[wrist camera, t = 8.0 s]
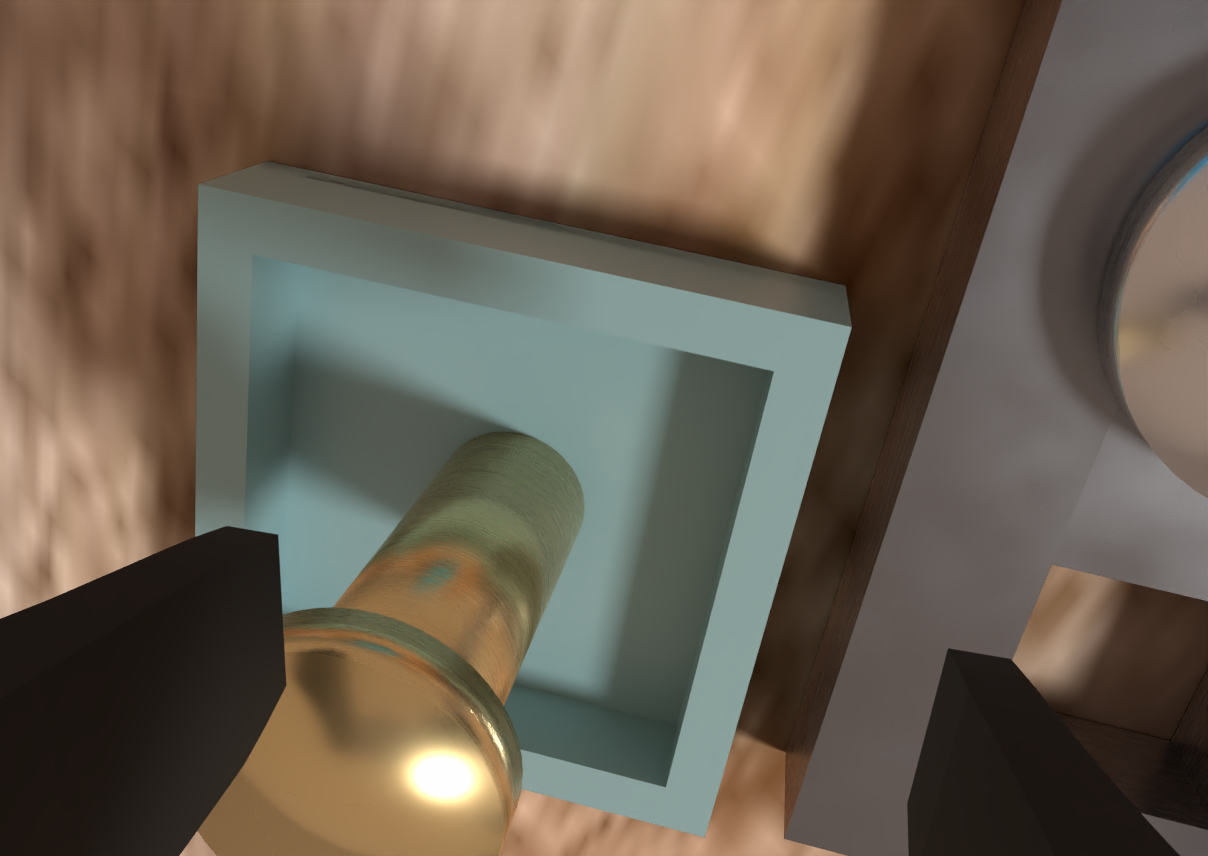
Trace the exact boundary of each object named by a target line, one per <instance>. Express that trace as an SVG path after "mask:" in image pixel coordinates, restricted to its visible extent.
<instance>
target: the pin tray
mask: <svg viewBox="0 0 1208 856" xmlns="http://www.w3.org/2000/svg"><path fill="white" fill-rule="evenodd" d="M851 328H852V325H851V319H850V312H849V305H848V299H847V292H846V286H845V285H841V284H836V283H831V282H827V281H822V280H817V279H813V278H808V277H804V276H799V275H794V274H790V273H785V272H780V271H776V270H771V269H766V268H762V267H757V266H752V265H748V264H743V263H739V262H734V261H729V260H725V259H720V258H715V257H711V256H706V255H701V254H697V253H692V252H688V251H683V250H678V249H674V248H669V247H664V246H660V245H655V244H650V243H646V242H641V241H636V240H632V239H627V238H623V237H618V236H613V235H609V234H604V233H599V232H595V231H590V230H585V229H581V228H576V227H572V226H567V225H562V224H558V223H553V222H548V221H544V220H539V219H534V218H530V217H525V216H520V215H516V214H511V213H507V212H502V211H497V210H493V209H488V208H483V207H479V206H474V205H469V204H465V203H460V202H456V201H451V200H446V199H442V198H437V197H432V196H428V195H423V194H418V193H414V192H409V191H404V190H400V189H395V188H391V187H386V186H381V185H377V184H372V183H367V182H363V181H358V180H353V179H349V178H344V177H340V176H335V175H330V174H326V173H321V172H316V171H312V170H307V169H302V168H298V167H293V166H288V165H284V164H279V163H275V162H270V161H267V162H264V163H261V164H257V165H254V166H251V167H248V168H245V169H242V170H239V171H236V172H233V173H230V174H227V175H224V176H221V177H218V178H215V179H212V180H209V181H206V182H203V183H200V184H198V260H197V378H196V497H195V537H196V536H199V535H202V534H204V533H207V532H210V531H213V530H216V529H219V528H222V527H225V526H231V527H237V528H243V529H248V530H254V531H260V532H266V533H272V534H278V539H279V557H280V576H281V594H282V613H283V615H285V614H288V613H291V612H294V611H300V610H306V609H312V608H329V607H333V606H334V605H335V604H336V603H337V601H338V600H339V599H340V598H341V596H342V595H343V594H344V592H345V591H346V590H347V589H348V587H349V586H350V585H351V583H352V582H353V581H354V580H355V578H356V577H357V576H358V574H359V573H360V572H361V571H362V569H363V568H364V567H365V566H366V564H367V563H368V562H369V560H370V559H371V558H372V557H373V555H374V554H375V553H376V551H377V550H378V549H379V548H380V546H381V545H382V544H383V542H384V541H385V540H386V539H387V537H388V536H389V535H390V533H391V532H392V531H393V530H394V528H395V527H396V526H397V525H398V523H399V522H400V521H401V519H402V518H403V517H404V516H405V514H406V513H407V512H408V510H409V509H410V508H411V507H412V505H413V504H414V503H415V501H416V500H417V499H418V498H419V496H420V495H421V494H422V492H423V491H424V490H425V489H426V487H427V486H428V485H429V484H430V482H431V481H432V480H433V478H434V477H435V476H436V475H437V473H438V472H439V471H440V469H441V468H442V467H443V466H444V464H445V463H446V462H447V460H448V459H449V458H450V457H451V455H452V454H453V453H454V452H455V451H456V450H457V449H458V448H459V447H460V446H461V445H463V444H464V443H465V442H467V441H469V440H471V439H472V438H474V437H477V436H480V435H483V434H487V433H492V432H514V433H520V434H524V435H527V436H531V437H533V438H535V439H538V440H540V441H542V442H544V443H545V444H547V445H549V446H550V447H551V448H553V449H554V450H555V451H557V452H558V453H559V454H560V455H561V456H562V457H563V458H564V459H565V460H566V461H567V462H568V464H569V465H570V466H571V468H572V469H573V471H574V472H575V474H576V476H577V478H578V480H579V482H580V485H581V488H582V491H583V496H584V506H585V511H584V519H583V523H582V526H581V529H580V531H579V533H578V536H577V538H576V540H575V543H574V545H573V547H572V550H571V552H570V554H569V556H568V559H567V561H566V563H565V566H564V568H563V570H562V573H561V575H560V577H559V580H558V582H557V584H556V586H555V589H554V591H553V593H552V596H551V598H550V600H549V603H548V605H547V607H546V610H545V612H544V614H543V616H542V619H541V621H540V623H539V626H538V628H537V630H536V633H535V635H534V637H533V640H532V642H531V644H530V646H529V649H528V651H527V653H526V656H525V658H524V660H523V663H522V665H521V667H520V670H519V672H518V674H517V676H516V679H515V681H514V683H513V686H512V688H511V690H510V693H509V695H508V697H507V700H506V702H505V704H504V708H505V710H506V712H507V713H508V715H509V717H510V719H511V721H512V724H513V727H514V729H515V732H516V735H517V737H518V741H519V746H520V750H521V755H522V766H523V779H522V789H524V790H528V791H532V792H535V793H539V794H543V795H547V796H551V797H554V798H558V799H562V800H566V801H569V802H573V803H577V804H581V805H584V806H588V807H592V808H596V809H599V810H603V811H607V812H611V813H614V814H618V815H622V816H626V817H629V818H633V819H637V820H641V821H645V822H648V823H652V824H656V825H660V826H663V827H667V828H671V829H675V830H678V831H682V832H686V833H690V834H693V835H697V836H701V837H705V835H706V831H707V828H708V824H709V821H710V817H711V814H712V810H713V807H714V803H715V800H716V796H717V793H718V790H719V786H720V783H721V779H722V776H723V772H724V769H725V765H726V762H727V758H728V755H729V751H730V748H731V744H732V741H733V737H734V734H735V731H736V727H737V724H738V720H739V717H740V713H741V710H742V706H743V703H744V699H745V696H746V692H747V689H748V685H749V682H750V679H751V675H752V672H753V668H754V665H755V661H756V658H757V654H758V651H759V647H760V644H761V640H762V637H763V633H764V630H765V626H766V623H767V620H768V616H769V613H770V609H771V606H772V602H773V599H774V595H775V592H776V588H777V585H778V581H779V578H780V574H781V571H782V568H783V564H784V561H785V557H786V554H787V550H788V547H789V543H790V540H791V536H792V533H793V529H794V526H795V522H796V519H797V515H798V512H799V509H800V505H801V502H802V498H803V495H804V491H805V488H806V484H807V481H808V477H809V474H810V470H811V467H812V463H813V460H814V457H815V453H816V450H817V446H818V443H819V439H820V436H821V432H822V429H823V425H824V422H825V418H826V415H827V411H828V408H829V405H830V401H831V398H832V394H833V391H834V387H835V384H836V380H837V377H838V373H839V370H840V366H841V363H842V359H843V356H844V352H845V349H846V346H847V342H848V339H849V335H850V332H851Z"/></svg>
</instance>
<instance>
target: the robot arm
mask: <svg viewBox="0 0 1208 856" xmlns="http://www.w3.org/2000/svg"><path fill="white" fill-rule="evenodd" d="M285 687H286V668H285V650H284V631H283V613H282V594H281V576H280V557H279V539H278V534H272V533H266V532H260V531H254V530H248V529H243V528H237V527H231V526H225V527H222V528H219V529H216V530H213V531H210V532H207V533H204V534H202V535H199V536H196V537H194V538H192V539H189V540H187V541H184V542H182V543H179V544H177V545H174V546H172V547H170V548H167V549H165V550H163V551H160V552H158V553H156V554H153V555H151V556H149V557H146V558H144V559H142V560H139V561H137V562H135V563H133V564H130V565H128V566H126V567H123V568H121V569H119V570H117V571H114V572H112V573H110V574H107V575H105V576H103V577H100V578H98V579H96V580H93V581H91V582H89V583H86V584H84V585H82V586H79V587H77V588H75V589H73V590H70V591H68V592H66V593H63V594H61V595H59V596H56V597H54V598H52V599H49V600H47V601H45V602H42V603H39V604H37V605H34V606H32V607H29V608H27V609H24V610H22V611H19V612H17V613H14V614H12V615H9V616H6V617H4V618H1V619H0V856H179V855H180V854H181V852H182V851H183V850H184V848H185V847H186V846H187V844H188V843H189V841H190V840H191V839H192V837H193V836H194V835H195V833H196V832H197V830H198V829H199V828H200V826H201V825H202V824H203V822H204V821H205V819H206V818H207V817H208V815H209V814H210V812H211V811H212V810H213V808H214V807H215V805H216V804H217V803H218V801H219V800H220V798H221V797H222V796H223V794H224V793H225V791H226V790H227V789H228V787H229V786H230V784H231V783H232V781H233V780H234V779H235V777H236V776H237V774H238V773H239V771H240V770H241V769H242V767H243V766H244V764H245V763H246V761H247V759H248V757H249V755H250V754H251V752H252V750H253V748H254V746H255V745H256V743H257V741H258V739H259V737H260V736H261V734H262V732H263V730H264V728H265V726H266V725H267V723H268V721H269V719H270V717H271V715H272V713H273V711H274V709H275V707H276V705H277V703H278V701H279V699H280V697H281V695H282V693H283V691H284V689H285ZM907 815H908V853H909V856H1180V855H1179V854H1178V853H1177V852H1176V851H1175V849H1174V848H1173V847H1172V846H1171V845H1170V844H1169V843H1168V842H1167V841H1166V840H1165V839H1164V838H1163V837H1162V836H1161V835H1160V833H1159V832H1158V831H1157V830H1156V829H1155V828H1154V827H1153V826H1152V825H1151V824H1150V823H1149V822H1148V820H1147V819H1146V818H1145V817H1144V816H1143V815H1142V814H1141V813H1140V812H1139V811H1138V809H1137V808H1136V807H1135V806H1134V805H1133V804H1132V803H1131V802H1130V800H1129V799H1128V798H1127V797H1126V796H1125V795H1124V794H1123V792H1122V791H1121V790H1120V789H1119V788H1118V787H1117V786H1116V784H1115V783H1114V782H1113V781H1112V780H1111V779H1110V777H1109V776H1108V775H1107V774H1106V773H1105V772H1104V771H1103V769H1102V768H1101V767H1100V766H1099V765H1098V763H1097V762H1096V761H1095V760H1094V759H1093V758H1092V756H1091V755H1090V754H1089V753H1088V752H1087V750H1086V749H1085V748H1084V747H1083V746H1082V744H1081V743H1080V742H1079V741H1078V740H1077V738H1076V737H1075V736H1074V735H1073V734H1072V732H1071V731H1070V730H1069V729H1068V727H1067V726H1066V725H1065V724H1064V723H1063V721H1062V720H1061V719H1060V718H1059V717H1058V715H1057V714H1056V713H1055V712H1054V710H1053V709H1052V708H1051V707H1050V706H1049V704H1048V703H1047V702H1046V701H1045V699H1044V698H1043V697H1042V696H1041V694H1040V693H1039V692H1038V691H1037V690H1036V688H1035V687H1034V686H1033V685H1032V683H1031V682H1030V681H1029V680H1028V679H1027V677H1026V676H1025V675H1024V674H1023V673H1022V671H1021V670H1020V669H1019V668H1018V667H1017V666H1016V664H1015V663H1014V662H1013V661H1012V660H1011V659H1009V658H1003V657H997V656H991V655H985V654H979V653H974V652H968V651H962V650H956V649H950V648H948V650H947V654H946V658H945V662H944V665H943V669H942V673H941V677H940V681H939V684H938V688H937V692H936V696H935V700H934V703H933V707H932V711H931V715H930V719H929V722H928V726H927V730H926V734H925V738H924V741H923V745H922V749H921V753H920V757H919V760H918V764H917V768H916V772H915V776H914V779H913V783H912V787H911V791H910V795H909V798H908V802H907Z"/></svg>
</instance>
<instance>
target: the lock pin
mask: <svg viewBox="0 0 1208 856" xmlns="http://www.w3.org/2000/svg"><path fill="white" fill-rule="evenodd" d="M584 511H585V506H584V496H583V491H582V488H581V485H580V482H579V480H578V478H577V476H576V474H575V472H574V471H573V469H572V468H571V466H570V465H569V464H568V462H567V461H566V460H565V459H564V458H563V457H562V456H561V455H560V454H559V453H558V452H557V451H555V450H554V449H553V448H551V447H550V446H549V445H547V444H545V443H544V442H542V441H540V440H538V439H535V438H533V437H531V436H527V435H524V434H520V433H514V432H492V433H487V434H483V435H480V436H477V437H474V438H472V439H471V440H469V441H467V442H465V443H464V444H463V445H461V446H460V447H459V448H458V449H457V450H456V451H455V452H454V453H453V454H452V455H451V457H450V458H449V459H448V460H447V462H446V463H445V464H444V466H443V467H442V468H441V469H440V471H439V472H438V473H437V475H436V476H435V477H434V478H433V480H432V481H431V482H430V484H429V485H428V486H427V487H426V489H425V490H424V491H423V492H422V494H421V495H420V496H419V498H418V499H417V500H416V501H415V503H414V504H413V505H412V507H411V508H410V509H409V510H408V512H407V513H406V514H405V516H404V517H403V518H402V519H401V521H400V522H399V523H398V525H397V526H396V527H395V528H394V530H393V531H392V532H391V533H390V535H389V536H388V537H387V539H386V540H385V541H384V542H383V544H382V545H381V546H380V548H379V549H378V550H377V551H376V553H375V554H374V555H373V557H372V558H371V559H370V560H369V562H368V563H367V564H366V566H365V567H364V568H363V569H362V571H361V572H360V573H359V574H358V576H357V577H356V578H355V580H354V581H353V582H352V583H351V585H350V586H349V587H348V589H347V590H346V591H345V592H344V594H343V595H342V596H341V598H340V599H339V600H338V601H337V603H336V604H335V605H334V606H333V607H329V608H312V609H306V610H300V611H294V612H291V613H288V614H285V615H283V631H284V650H285V668H286V687H285V689H284V691H283V693H282V695H281V697H280V699H279V701H278V703H277V705H276V707H275V709H274V711H273V713H272V715H271V717H270V719H269V721H268V723H267V725H266V726H265V728H264V730H263V732H262V734H261V736H260V737H259V739H258V741H257V743H256V745H255V746H254V748H253V750H252V752H251V754H250V755H249V757H248V759H247V761H246V763H245V764H244V766H243V767H242V769H241V770H240V771H239V773H238V774H237V776H236V777H235V779H234V780H233V781H232V783H231V784H230V786H229V787H228V789H227V790H226V791H225V793H224V794H223V796H222V797H221V798H220V800H219V801H218V803H217V804H216V805H215V807H214V808H213V810H212V811H211V812H210V814H209V815H208V817H207V818H206V819H205V821H204V822H203V824H202V825H201V826H200V828H199V829H198V832H199V833H200V835H201V836H202V838H203V839H204V841H205V842H206V843H207V844H208V846H209V847H210V848H211V849H212V850H213V852H214V853H215V854H216V855H217V856H499V855H500V852H501V849H502V846H503V844H504V841H505V838H506V835H507V833H508V830H509V827H510V824H511V822H512V819H513V816H514V813H515V811H516V808H517V805H518V801H519V797H520V794H521V789H522V779H523V766H522V755H521V750H520V746H519V741H518V737H517V735H516V732H515V729H514V727H513V724H512V721H511V719H510V717H509V715H508V713H507V712H506V710H505V708H504V704H505V702H506V700H507V697H508V695H509V693H510V690H511V688H512V686H513V683H514V681H515V679H516V676H517V674H518V672H519V670H520V667H521V665H522V663H523V660H524V658H525V656H526V653H527V651H528V649H529V646H530V644H531V642H532V640H533V637H534V635H535V633H536V630H537V628H538V626H539V623H540V621H541V619H542V616H543V614H544V612H545V610H546V607H547V605H548V603H549V600H550V598H551V596H552V593H553V591H554V589H555V586H556V584H557V582H558V580H559V577H560V575H561V573H562V570H563V568H564V566H565V563H566V561H567V559H568V556H569V554H570V552H571V550H572V547H573V545H574V543H575V540H576V538H577V536H578V533H579V531H580V529H581V526H582V523H583V519H584Z"/></svg>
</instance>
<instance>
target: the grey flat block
mask: <svg viewBox="0 0 1208 856" xmlns="http://www.w3.org/2000/svg"><path fill="white" fill-rule="evenodd" d="M1051 565H1056V566H1061V567H1065V568H1069V569H1073V570H1078V571H1082V572H1086V573H1090V574H1095V575H1099V576H1103V577H1107V578H1112V579H1116V580H1120V581H1124V582H1129V583H1133V584H1137V585H1141V586H1146V587H1150V588H1154V589H1158V590H1163V591H1167V592H1171V593H1175V594H1180V595H1184V596H1188V597H1192V598H1197V599H1201V600H1205V601H1208V0H1025V3H1024V6H1023V10H1022V13H1021V16H1020V19H1019V22H1018V25H1017V28H1016V32H1015V35H1014V38H1013V41H1012V44H1011V47H1010V51H1009V54H1008V57H1007V60H1006V63H1005V66H1004V69H1003V73H1002V76H1001V79H1000V82H999V85H998V88H997V91H996V95H995V98H994V101H993V104H992V107H991V110H990V113H989V117H988V120H987V123H986V126H985V129H984V132H983V135H982V139H981V142H980V145H979V148H978V151H977V154H976V157H975V161H974V164H973V167H972V170H971V173H970V176H969V179H968V183H967V186H966V189H965V192H964V195H963V198H962V201H961V205H960V208H959V211H958V214H957V217H956V220H955V223H954V227H953V230H952V233H951V236H950V239H949V242H948V245H947V249H946V252H945V255H944V258H943V261H942V264H941V267H940V271H939V274H938V277H937V280H936V283H935V286H934V289H933V293H932V296H931V299H930V302H929V305H928V308H927V311H926V315H925V318H924V321H923V324H922V327H921V330H920V333H919V337H918V340H917V343H916V346H915V349H914V352H913V355H912V359H911V362H910V365H909V368H908V371H907V374H906V377H905V381H904V384H903V387H902V390H901V393H900V396H899V399H898V403H897V406H896V409H895V412H894V415H893V418H892V421H891V425H890V428H889V431H888V434H887V437H886V440H885V443H884V447H883V450H882V453H881V456H880V459H879V462H878V465H877V469H876V472H875V475H874V478H873V481H872V484H871V487H870V491H869V494H868V497H867V500H866V503H865V506H864V509H863V513H862V516H861V519H860V522H859V525H858V528H857V531H856V535H855V538H854V541H853V544H852V547H851V550H850V553H849V557H848V560H847V563H846V566H845V569H844V572H843V575H842V579H841V582H840V585H839V588H838V591H837V594H836V598H835V601H834V604H833V607H832V610H831V613H830V616H829V620H828V623H827V626H826V629H825V632H824V635H823V638H822V642H821V645H820V648H819V651H818V654H817V657H816V660H815V664H814V667H813V670H812V673H811V676H810V679H809V682H808V686H807V689H806V692H805V695H804V698H803V701H802V704H801V708H800V711H799V714H798V717H797V720H796V723H795V726H794V730H793V733H792V736H791V739H790V742H789V745H788V748H787V752H786V765H785V817H784V839H787V840H791V841H794V842H798V843H802V844H806V845H810V846H813V847H817V848H821V849H825V850H829V851H832V852H836V853H840V854H844V855H847V856H909V853H908V815H907V802H908V798H909V795H910V791H911V787H912V783H913V779H914V776H915V772H916V768H917V764H918V760H919V757H920V753H921V749H922V745H923V741H924V738H925V734H926V730H927V726H928V722H929V719H930V715H931V711H932V707H933V703H934V700H935V696H936V692H937V688H938V684H939V681H940V677H941V673H942V669H943V665H944V662H945V658H946V654H947V650H948V648H950V649H956V650H962V651H968V652H974V653H979V654H985V655H991V656H997V657H1003V658H1009V659H1011V660H1012V659H1013V656H1014V654H1015V652H1016V649H1017V647H1018V644H1019V642H1020V640H1021V637H1022V635H1023V632H1024V630H1025V628H1026V625H1027V623H1028V620H1029V618H1030V616H1031V613H1032V611H1033V608H1034V606H1035V604H1036V601H1037V599H1038V596H1039V594H1040V592H1041V589H1042V587H1043V584H1044V582H1045V580H1046V577H1047V575H1048V572H1049V570H1050V568H1051ZM1055 713H1056V712H1055ZM1056 714H1057V715H1058V717H1059V718H1060V719H1061V720H1062V721H1063V723H1064V724H1065V725H1066V726H1067V727H1068V729H1069V730H1070V731H1071V732H1072V734H1073V735H1074V736H1075V737H1076V738H1077V740H1078V741H1079V742H1080V743H1081V744H1082V746H1083V747H1084V748H1085V749H1086V750H1087V752H1088V753H1089V754H1090V755H1091V756H1092V758H1093V759H1094V760H1095V761H1096V762H1097V763H1098V765H1099V766H1100V767H1101V768H1102V769H1103V771H1104V772H1105V773H1106V774H1107V775H1108V776H1109V777H1110V779H1111V780H1112V781H1113V782H1114V783H1115V784H1116V786H1117V787H1118V788H1119V789H1120V790H1121V791H1122V792H1123V794H1124V795H1125V796H1126V797H1127V798H1128V799H1129V800H1130V802H1131V803H1132V804H1133V805H1134V806H1135V807H1136V808H1137V809H1138V811H1139V812H1140V813H1141V814H1142V815H1143V816H1144V817H1145V818H1146V819H1147V820H1148V822H1149V823H1150V824H1151V825H1152V826H1153V827H1154V828H1155V829H1156V830H1157V831H1158V832H1159V833H1160V835H1161V836H1162V837H1163V838H1164V839H1165V840H1166V841H1167V842H1168V843H1169V844H1170V845H1171V846H1172V847H1173V848H1174V849H1175V851H1176V852H1177V853H1178V854H1179V855H1180V856H1208V670H1207V672H1206V674H1205V676H1204V678H1203V680H1202V682H1201V683H1200V685H1199V687H1198V689H1197V691H1196V693H1195V695H1194V697H1193V699H1192V701H1191V703H1190V705H1189V707H1188V709H1187V711H1186V713H1185V714H1184V716H1183V718H1182V720H1181V722H1180V724H1179V726H1178V728H1177V730H1176V732H1175V734H1174V736H1173V738H1172V740H1171V741H1169V740H1165V739H1161V738H1157V737H1153V736H1149V735H1145V734H1141V733H1137V732H1133V731H1129V730H1125V729H1121V728H1117V727H1113V726H1109V725H1104V724H1100V723H1096V722H1092V721H1088V720H1084V719H1080V718H1076V717H1072V716H1068V715H1064V714H1060V713H1056Z"/></svg>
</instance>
